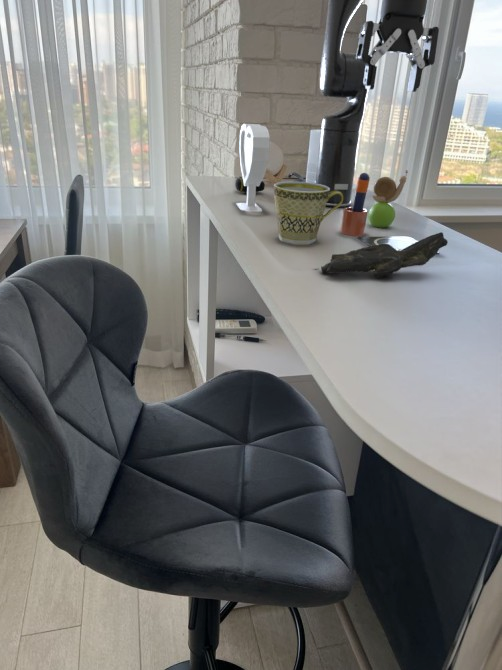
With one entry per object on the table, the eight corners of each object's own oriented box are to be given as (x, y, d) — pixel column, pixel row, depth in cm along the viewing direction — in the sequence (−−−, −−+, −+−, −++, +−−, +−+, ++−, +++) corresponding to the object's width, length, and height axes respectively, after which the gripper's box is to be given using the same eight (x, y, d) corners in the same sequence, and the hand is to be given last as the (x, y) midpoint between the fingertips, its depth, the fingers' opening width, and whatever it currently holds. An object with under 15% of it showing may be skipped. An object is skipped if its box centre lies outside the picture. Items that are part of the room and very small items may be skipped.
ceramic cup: (275, 248, 89) (280, 191, 85) (265, 233, 98) (269, 180, 93) (346, 249, 91) (354, 192, 87) (329, 234, 100) (336, 182, 95)
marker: (345, 230, 101) (357, 171, 94) (355, 230, 101) (368, 171, 94) (349, 235, 99) (362, 175, 92) (359, 235, 100) (372, 175, 93)
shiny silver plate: (356, 239, 97) (357, 236, 97) (408, 239, 100) (409, 235, 99) (382, 257, 88) (383, 253, 87) (439, 256, 90) (439, 252, 90)
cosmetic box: (323, 183, 153) (329, 128, 146) (340, 187, 149) (347, 130, 142) (304, 185, 148) (309, 128, 141) (320, 189, 144) (326, 131, 137)
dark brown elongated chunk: (329, 297, 76) (453, 271, 78) (329, 266, 73) (458, 239, 75) (317, 277, 81) (433, 253, 83) (316, 247, 78) (437, 222, 80)
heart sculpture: (234, 201, 123) (237, 121, 115) (254, 201, 124) (258, 122, 116) (246, 216, 110) (250, 127, 102) (268, 216, 111) (274, 128, 103)
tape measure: (265, 194, 134) (266, 179, 132) (242, 195, 130) (243, 180, 129) (252, 189, 139) (253, 175, 137) (230, 190, 136) (231, 176, 134)
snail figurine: (398, 232, 104) (409, 172, 99) (366, 229, 105) (375, 169, 100) (396, 226, 109) (407, 168, 103) (366, 223, 110) (375, 166, 104)
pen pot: (337, 232, 102) (340, 207, 100) (358, 231, 103) (361, 207, 101) (345, 238, 98) (349, 212, 96) (367, 237, 99) (371, 212, 97)
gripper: (432, -9, 90) (414, 92, 97) (359, -17, 87) (346, 88, 94) (457, -15, 84) (436, 93, 91) (378, -24, 81) (363, 88, 88)
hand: (390, 90), depth 93 cm, fingers open, 8 cm apart
